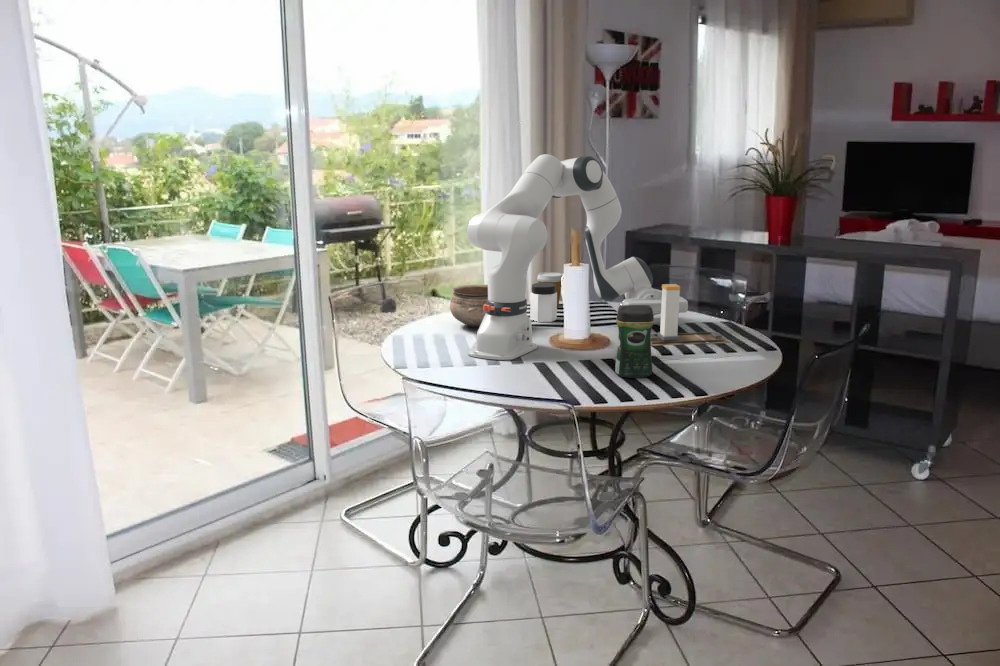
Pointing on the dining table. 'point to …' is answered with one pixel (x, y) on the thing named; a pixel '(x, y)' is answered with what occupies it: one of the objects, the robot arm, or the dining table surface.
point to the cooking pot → (469, 304)
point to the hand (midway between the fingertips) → (662, 311)
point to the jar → (543, 302)
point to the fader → (669, 312)
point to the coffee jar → (634, 341)
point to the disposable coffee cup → (551, 281)
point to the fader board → (690, 339)
